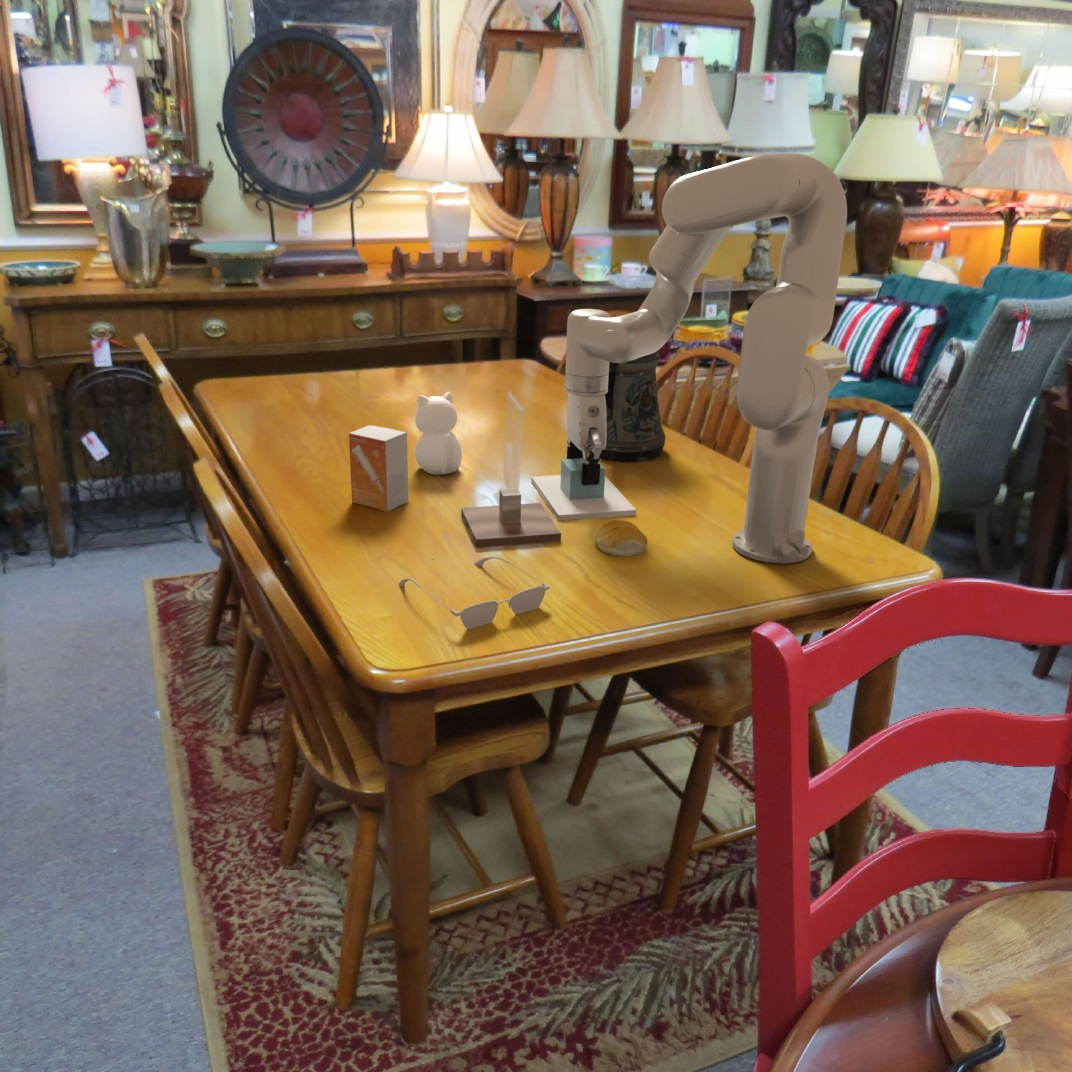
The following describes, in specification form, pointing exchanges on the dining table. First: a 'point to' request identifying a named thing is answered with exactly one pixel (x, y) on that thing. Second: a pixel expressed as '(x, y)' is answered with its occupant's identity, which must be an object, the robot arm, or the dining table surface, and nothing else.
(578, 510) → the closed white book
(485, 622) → the eyeglasses
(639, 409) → the beer stein
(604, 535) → the bread roll
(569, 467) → the cube
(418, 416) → the cat figurine
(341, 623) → the dining table surface
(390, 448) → the small box
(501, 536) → the post stand
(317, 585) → the dining table surface
